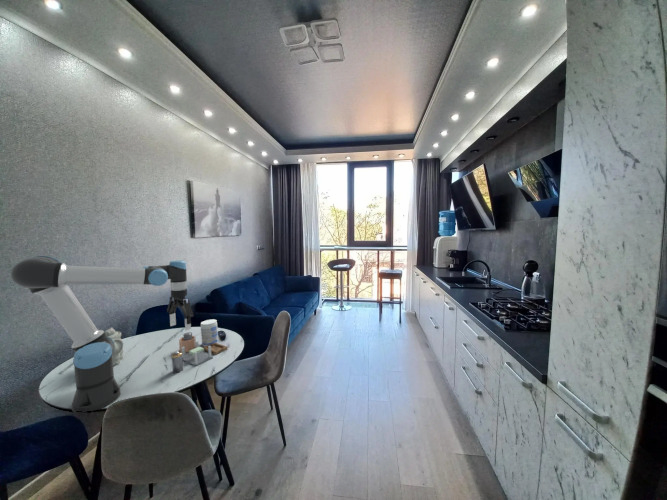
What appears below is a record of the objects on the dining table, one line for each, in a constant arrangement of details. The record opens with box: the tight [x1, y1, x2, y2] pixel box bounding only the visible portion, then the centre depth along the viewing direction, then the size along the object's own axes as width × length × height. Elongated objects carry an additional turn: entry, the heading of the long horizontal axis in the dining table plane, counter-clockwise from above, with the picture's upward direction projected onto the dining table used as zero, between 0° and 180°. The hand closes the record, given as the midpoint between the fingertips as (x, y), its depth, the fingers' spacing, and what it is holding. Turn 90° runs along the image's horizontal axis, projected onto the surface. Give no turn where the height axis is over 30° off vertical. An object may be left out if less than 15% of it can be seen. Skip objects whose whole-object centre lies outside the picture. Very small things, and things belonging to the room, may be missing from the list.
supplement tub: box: [200, 318, 219, 347], centre depth 161 cm, size 10×10×15 cm
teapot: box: [104, 327, 124, 367], centre depth 137 cm, size 16×15×19 cm
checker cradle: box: [182, 341, 214, 367], centre depth 142 cm, size 10×14×7 cm
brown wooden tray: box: [202, 342, 228, 356], centre depth 153 cm, size 8×12×2 cm, turn 60°
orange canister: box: [178, 331, 197, 354], centre depth 153 cm, size 8×8×10 cm
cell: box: [171, 350, 184, 374], centre depth 130 cm, size 5×5×10 cm
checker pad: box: [188, 346, 205, 355], centre depth 142 cm, size 6×4×2 cm, turn 150°
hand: (180, 327), depth 137 cm, fingers open, 13 cm apart
